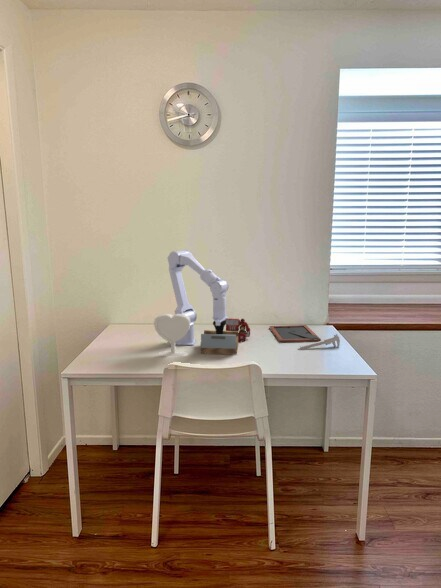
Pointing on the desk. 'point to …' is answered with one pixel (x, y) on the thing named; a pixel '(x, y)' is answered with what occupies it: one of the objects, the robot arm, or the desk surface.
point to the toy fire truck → (234, 326)
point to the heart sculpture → (172, 330)
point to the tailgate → (218, 341)
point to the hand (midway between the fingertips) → (219, 336)
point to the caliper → (323, 342)
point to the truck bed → (221, 350)
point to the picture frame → (294, 334)
